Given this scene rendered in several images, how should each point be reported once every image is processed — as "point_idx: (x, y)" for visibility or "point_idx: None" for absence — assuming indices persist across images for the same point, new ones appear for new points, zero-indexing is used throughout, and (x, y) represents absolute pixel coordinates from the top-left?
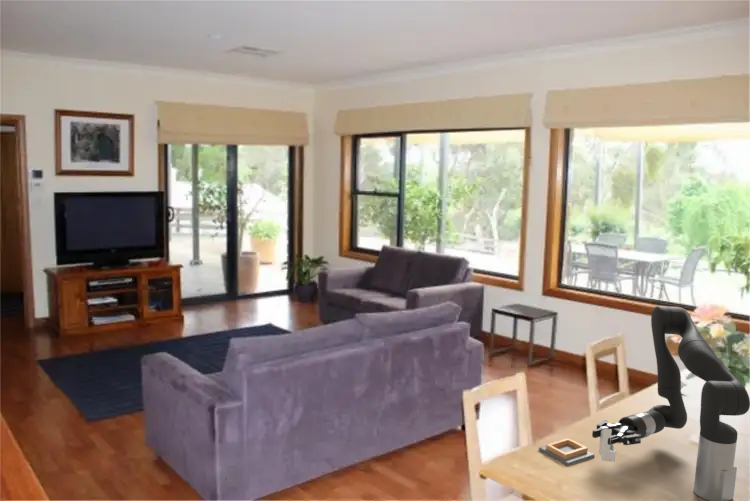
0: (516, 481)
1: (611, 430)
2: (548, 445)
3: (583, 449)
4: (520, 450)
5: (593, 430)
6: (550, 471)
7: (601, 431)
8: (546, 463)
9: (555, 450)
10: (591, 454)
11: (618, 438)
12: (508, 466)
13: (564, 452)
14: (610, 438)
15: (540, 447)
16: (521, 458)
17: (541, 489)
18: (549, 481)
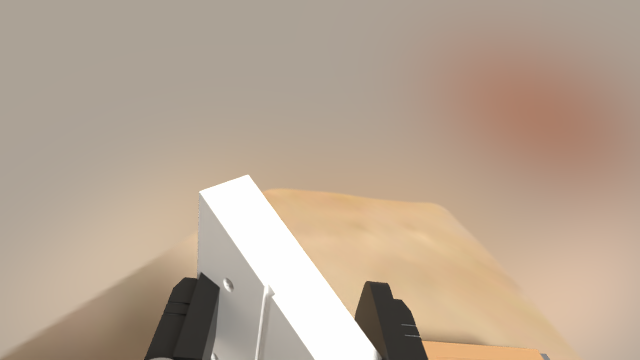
0: (341, 195)
1: (200, 203)
2: (525, 349)
3: None
4: (531, 307)
5: (409, 313)
6: (353, 274)
7: (356, 333)
8: (412, 304)
9: (477, 349)
10: None
11: (146, 356)
12: (419, 224)
13: (439, 354)
14: (199, 271)
15: (543, 357)
16: (464, 272)
17: (280, 201)
18: (301, 234)
